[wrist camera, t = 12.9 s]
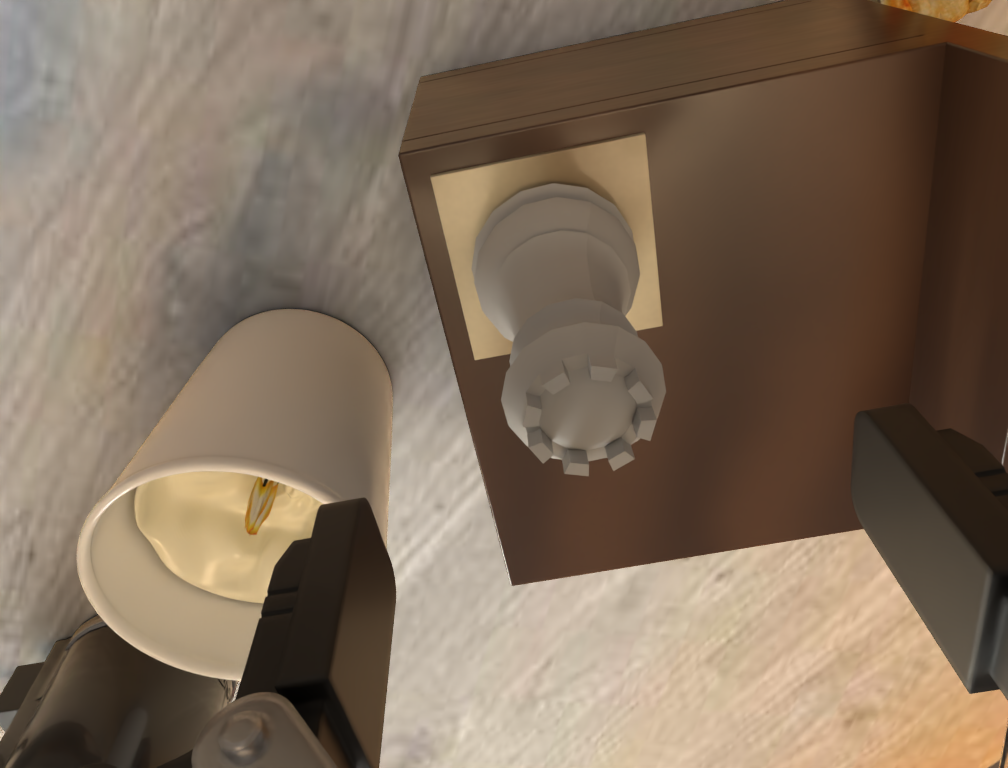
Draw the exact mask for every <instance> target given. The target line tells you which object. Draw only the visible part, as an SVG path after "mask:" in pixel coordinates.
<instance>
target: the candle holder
mask: <svg viewBox="0 0 1008 768" xmlns="http://www.w3.org/2000/svg"><path fill="white" fill-rule="evenodd" d="M392 420H393V393H392V385H391V380H390V376H389V373H388V370H387V368H386V366H385V364H384V362H383V360H382V358H381V356H380V355H379V353H378V352H377V351H376V349H375V348H374V347H373V346H372V344H371V343H370V342H369V341H368V340H367V339H366V338H365V337H363V336H362V335H361V334H360V333H359V332H357V331H356V330H355V329H353V328H352V327H350V326H349V325H347V324H345V323H343V322H341V321H339V320H337V319H335V318H333V317H330V316H328V315H325V314H321V313H318V312H314V311H308V310H301V309H279V310H272V311H267V312H263V313H259V314H256V315H254V316H251V317H249V318H247V319H245V320H243V321H241V322H239V323H238V324H236V325H235V326H233V327H232V328H231V329H230V330H228V331H227V332H226V333H225V334H224V335H223V336H222V337H221V338H220V339H219V341H218V342H217V343H216V344H215V345H214V347H213V348H212V349H211V350H210V352H209V353H208V354H207V356H206V357H205V358H204V360H203V361H202V362H201V364H200V365H199V367H198V368H197V369H196V371H195V372H194V373H193V375H192V376H191V378H190V379H189V380H188V382H187V383H186V384H185V386H184V387H183V389H182V390H181V391H180V393H179V394H178V395H177V397H176V398H175V400H174V401H173V402H172V404H171V405H170V407H169V408H168V409H167V411H166V412H165V414H164V415H163V416H162V418H161V419H160V420H159V422H158V423H157V425H156V426H155V427H154V429H153V430H152V432H151V433H150V434H149V436H148V437H147V438H146V440H145V441H144V443H143V444H142V445H141V447H140V448H139V450H138V451H137V452H136V454H135V455H134V457H133V458H132V459H131V461H130V462H129V463H128V465H127V466H126V468H125V469H124V470H123V472H122V473H121V475H120V476H119V477H118V479H117V480H116V481H115V483H114V484H113V486H112V487H111V488H110V490H109V491H108V492H107V493H106V494H105V495H104V496H103V497H102V498H101V499H100V500H99V501H98V502H97V504H96V505H95V506H94V507H93V509H92V510H91V512H90V513H89V515H88V517H87V519H86V520H85V522H84V525H83V527H82V530H81V532H80V536H79V540H78V545H77V569H78V574H79V578H80V582H81V585H82V587H83V590H84V592H85V594H86V596H87V598H88V600H89V602H90V603H91V605H92V606H93V608H94V609H95V611H96V612H97V614H98V615H99V616H100V617H101V618H102V620H103V621H104V622H105V623H106V624H107V625H108V626H109V627H110V628H111V629H112V630H113V631H114V632H115V633H117V634H118V635H119V636H120V637H121V638H123V639H124V640H125V641H127V642H128V643H129V644H131V645H132V646H134V647H135V648H137V649H138V650H140V651H142V652H143V653H145V654H147V655H149V656H151V657H153V658H155V659H157V660H159V661H161V662H163V663H166V664H168V665H170V666H173V667H176V668H179V669H181V670H185V671H188V672H191V673H195V674H199V675H203V676H208V677H213V678H219V679H226V680H237V681H241V679H242V676H243V672H244V669H245V665H246V662H247V659H248V655H249V652H250V648H251V645H252V641H253V638H254V635H255V631H256V628H257V624H258V621H259V618H261V610H262V607H263V604H264V600H265V597H267V596H268V593H267V590H268V586H269V583H270V580H271V576H272V573H273V569H274V566H275V564H276V563H277V562H278V560H279V559H280V558H281V556H282V555H283V554H284V552H285V551H286V550H287V549H288V547H289V546H290V545H291V543H292V542H293V541H295V540H301V539H307V538H311V535H312V531H313V527H314V523H315V519H316V515H317V511H318V508H319V507H320V506H321V505H323V504H329V503H334V502H340V501H346V500H351V499H357V498H363V497H364V498H366V499H367V500H368V502H369V504H370V506H371V508H372V511H373V514H374V516H375V519H376V522H377V525H378V527H379V530H380V533H381V536H382V538H383V541H384V544H385V547H386V549H387V528H388V507H389V487H390V466H391V445H392Z"/></svg>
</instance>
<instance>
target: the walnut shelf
mask: <svg viewBox="0 0 1008 768" xmlns="http://www.w3.org/2000/svg"><path fill="white" fill-rule="evenodd" d="M398 156H399V160H400V164H401V168H402V172H403V176H404V179H405V183H406V187H407V191H408V195H409V198H410V202H411V206H412V210H413V214H414V218H415V221H416V225H417V229H418V233H419V237H420V240H421V244H422V248H423V252H424V256H425V260H426V263H427V267H428V271H429V275H430V279H431V283H432V286H433V290H434V294H435V298H436V302H437V305H438V309H439V313H440V317H441V321H442V325H443V328H444V332H445V336H446V340H447V344H448V347H449V351H450V355H451V359H452V363H453V367H454V370H455V374H456V378H457V382H458V386H459V390H460V393H461V397H462V401H463V405H464V409H465V412H466V416H467V420H468V424H469V428H470V432H471V435H472V439H473V443H474V447H475V451H476V455H477V458H478V462H479V466H480V470H481V474H482V477H483V481H484V485H485V489H486V493H487V497H488V500H489V504H490V508H491V512H492V516H493V519H494V523H495V527H496V531H497V535H498V539H499V542H500V546H501V550H502V554H503V558H504V562H505V565H506V569H507V573H508V577H509V581H510V584H511V586H515V585H521V584H527V583H533V582H540V581H546V580H552V579H558V578H564V577H570V576H577V575H583V574H589V573H595V572H601V571H607V570H613V569H620V568H626V567H632V566H638V565H644V564H650V563H657V562H663V561H669V560H675V559H681V558H687V557H693V556H700V555H706V554H712V553H718V552H724V551H730V550H737V549H743V548H749V547H755V546H761V545H767V544H773V543H780V542H786V541H792V540H798V539H804V538H810V537H817V536H823V535H829V534H835V533H841V532H847V531H853V530H860V529H864V528H863V526H862V525H861V523H860V521H859V519H858V517H857V514H856V512H855V509H854V505H853V501H852V496H851V469H852V451H853V434H854V421H855V417H856V414H857V413H858V412H860V411H864V410H870V409H876V408H881V407H887V406H893V405H898V404H904V403H909V404H911V405H913V406H914V407H915V408H916V409H917V410H918V411H919V412H920V414H921V415H922V416H923V417H924V418H925V419H926V420H927V421H928V422H929V424H930V425H931V426H932V427H933V428H934V429H935V430H936V431H937V430H943V429H949V428H952V429H953V430H955V431H957V432H959V433H961V434H963V435H965V436H967V437H968V438H970V439H972V440H974V441H976V442H978V443H980V444H982V445H983V446H984V447H985V448H986V449H987V450H988V451H989V452H990V453H991V454H992V455H993V456H994V457H995V458H996V459H997V460H998V461H999V462H1000V463H1001V464H1002V465H1003V466H1004V467H1005V471H1006V473H1008V36H1005V35H1001V34H997V33H993V32H989V31H986V30H982V29H978V28H974V27H970V26H966V25H962V24H958V23H954V22H951V21H947V20H943V19H939V18H935V17H931V16H927V15H923V14H919V13H916V12H912V11H908V10H904V9H900V8H896V7H892V6H888V5H884V4H881V3H877V2H873V1H869V0H785V1H781V2H776V3H771V4H766V5H761V6H757V7H752V8H747V9H742V10H738V11H733V12H728V13H723V14H718V15H714V16H709V17H704V18H699V19H695V20H690V21H685V22H680V23H675V24H671V25H666V26H661V27H656V28H652V29H647V30H642V31H637V32H633V33H628V34H623V35H618V36H613V37H609V38H604V39H599V40H594V41H590V42H585V43H580V44H575V45H570V46H566V47H561V48H556V49H551V50H547V51H542V52H537V53H532V54H528V55H523V56H518V57H513V58H508V59H504V60H499V61H494V62H489V63H485V64H480V65H475V66H470V67H465V68H461V69H456V70H451V71H446V72H442V73H437V74H432V75H427V76H423V77H421V78H420V80H419V84H418V87H417V90H416V94H415V97H414V101H413V104H412V108H411V111H410V115H409V118H408V122H407V125H406V129H405V133H404V136H403V140H402V144H401V147H400V151H399V155H398ZM552 183H556V184H563V185H570V186H577V187H584V188H588V189H590V190H591V191H593V192H595V193H596V194H598V195H599V196H601V197H603V198H604V199H606V200H608V201H609V202H611V203H613V204H614V205H615V206H616V207H617V209H618V210H619V212H620V213H621V215H622V216H623V218H624V219H625V221H626V222H627V224H628V225H629V227H630V228H631V230H632V233H633V239H634V243H635V244H636V251H637V257H638V263H639V269H640V277H639V281H638V285H637V289H636V293H635V296H634V300H633V304H632V307H631V309H630V311H629V312H628V313H627V314H626V318H627V319H628V321H629V322H630V323H631V325H632V326H633V327H634V329H635V330H636V332H637V335H638V338H640V339H642V340H644V341H645V342H646V343H647V345H648V346H649V347H650V349H651V350H652V351H653V353H654V354H655V356H656V357H657V358H658V360H659V361H660V362H661V364H662V368H663V374H664V381H665V387H666V393H665V397H664V400H663V403H662V406H661V409H660V413H659V416H658V418H657V421H656V424H655V427H654V431H653V434H652V437H651V440H650V441H648V440H645V439H641V438H640V439H639V440H638V441H637V442H635V443H633V444H632V445H631V447H632V450H633V454H634V457H635V459H634V460H632V461H630V462H629V463H627V464H625V465H623V466H622V467H620V468H618V469H616V470H615V471H613V469H612V467H611V465H610V463H609V461H608V458H603V459H598V460H593V461H589V476H581V475H571V474H564V469H563V463H562V460H561V459H553V458H549V459H548V460H547V461H546V462H545V463H544V464H543V463H542V462H541V461H540V460H539V459H538V458H537V456H536V455H535V454H534V453H533V452H532V451H531V450H530V449H529V447H528V446H526V445H525V444H524V442H523V441H522V440H521V439H520V438H519V437H518V436H517V435H516V434H515V432H514V431H513V430H512V429H511V428H510V427H509V426H508V422H507V419H506V416H505V412H504V409H503V405H502V402H501V397H502V392H503V386H504V381H505V376H506V372H507V371H508V369H509V368H510V362H509V360H510V355H511V350H512V344H513V342H512V341H510V340H508V339H506V338H505V337H504V336H503V335H502V334H501V333H500V332H499V331H498V329H497V328H496V327H495V326H494V325H493V323H492V322H491V321H490V320H489V319H488V317H487V316H486V315H485V314H484V312H483V311H482V308H481V305H480V301H479V298H478V294H477V291H476V287H475V284H474V276H473V273H472V269H471V268H472V261H473V255H474V248H475V241H476V237H477V236H478V234H479V233H480V231H481V229H482V228H483V226H484V225H485V223H486V221H487V220H488V218H489V217H490V215H491V213H492V212H493V211H494V210H495V209H496V208H498V207H499V206H501V205H502V204H503V203H505V202H506V201H508V200H509V199H510V198H512V197H513V196H515V195H516V194H517V193H519V192H520V191H524V190H528V189H532V188H536V187H540V186H544V185H548V184H552Z"/></svg>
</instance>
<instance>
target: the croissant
mask: <svg viewBox="0 0 1008 768" xmlns="http://www.w3.org/2000/svg"><path fill="white" fill-rule="evenodd" d="M869 1H873V2H877V3H881V4H884V5H888V6H892V7H896V8H900V9H904V10H908V11H912V12H916V13H919V14H923V15H927V16H931V17H935V18H939V19H943V20H947V21H951V22H956V21H958V20H960V19H961V18H962V17H963V16H964V15H965V14H968V13H972V12H975V11H978V10H980V9H982V8H985V7H987V6H988V5H989V3H990V2H991V1H992V0H869Z"/></svg>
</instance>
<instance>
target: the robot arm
mask: <svg viewBox="0 0 1008 768" xmlns="http://www.w3.org/2000/svg"><path fill="white" fill-rule="evenodd" d="M851 496H852V501H853V505H854V509H855V512H856V514H857V517H858V519H859V521H860V523H861V525H862V526H863V528H864V530H865V531H866V533H867V534H868V536H869V537H870V539H871V541H872V542H873V544H874V545H875V547H876V548H877V550H878V551H879V553H880V555H881V556H882V558H883V559H884V561H885V562H886V564H887V566H888V567H889V569H890V570H891V572H892V573H893V575H894V576H895V578H896V580H897V581H898V583H899V584H900V586H901V587H902V589H903V591H904V592H905V594H906V595H907V597H908V598H909V600H910V601H911V603H912V605H913V606H914V608H915V609H916V611H917V612H918V614H919V616H920V617H921V619H922V620H923V622H924V623H925V625H926V626H927V628H928V630H929V631H930V633H931V634H932V636H933V637H934V639H935V641H936V642H937V644H938V645H939V647H940V648H941V650H942V651H943V653H944V655H945V656H946V658H947V659H948V661H949V662H950V664H951V666H952V667H953V669H954V670H955V672H956V673H957V675H958V676H959V678H960V680H961V681H962V683H963V684H964V686H965V687H966V689H967V691H968V692H969V694H972V693H978V692H985V691H991V690H998V689H1000V690H1001V691H1002V693H1003V694H1004V696H1005V697H1006V699H1007V700H1008V473H1006V471H1005V467H1004V466H1003V465H1002V464H1001V463H1000V462H999V461H998V460H997V459H996V458H995V457H994V456H993V455H992V454H991V453H990V452H989V451H988V450H987V449H986V448H985V447H984V446H983V445H982V444H980V443H978V442H976V441H974V440H972V439H970V438H968V437H967V436H965V435H963V434H961V433H959V432H957V431H955V430H953V429H952V428H949V429H943V430H937V431H936V430H935V429H934V428H933V427H932V426H931V425H930V424H929V422H928V421H927V420H926V419H925V418H924V417H923V416H922V415H921V414H920V412H919V411H918V410H917V409H916V408H915V407H914V406H913V405H911V404H909V403H904V404H898V405H893V406H887V407H881V408H876V409H870V410H864V411H860V412H858V413H857V414H856V417H855V421H854V434H853V451H852V469H851ZM267 593H268V596H267V597H265V600H264V604H263V607H262V610H261V618H259V621H258V624H257V628H256V631H255V635H254V638H253V641H252V645H251V648H250V652H249V655H248V659H247V662H246V665H245V669H244V672H243V676H242V679H241V683H240V686H239V690H238V693H237V696H236V699H235V701H233V702H231V701H232V699H233V696H234V693H235V690H236V686H237V683H238V681H237V680H226V679H219V678H213V677H208V676H203V675H199V674H195V673H191V672H188V671H185V670H181V669H179V668H176V667H173V666H170V665H168V664H166V663H163V662H161V661H159V660H157V659H155V658H153V657H151V656H149V655H147V654H145V653H143V652H142V651H140V650H138V649H137V648H135V647H134V646H132V645H131V644H129V643H128V642H127V641H125V640H124V639H123V638H121V637H120V636H119V635H118V634H117V633H115V632H114V631H113V630H112V629H111V628H110V627H109V626H108V625H107V624H106V623H105V622H104V621H103V620H102V618H101V617H100V616H99V615H98V616H95V617H94V618H92V619H90V620H88V621H87V622H85V623H84V624H83V625H81V626H80V627H79V628H78V629H77V630H76V632H75V633H74V635H73V636H72V638H69V639H65V640H59V641H56V643H55V644H54V646H53V648H52V650H51V652H50V653H49V655H48V657H47V659H46V661H45V662H41V663H35V664H29V665H23V666H18V667H17V668H16V670H15V671H14V673H13V675H12V676H11V678H10V680H9V681H8V683H7V685H6V687H5V688H4V690H3V692H2V693H1V695H0V726H1V727H2V729H3V730H4V731H5V734H4V736H3V738H2V739H1V741H0V768H379V763H380V753H381V743H382V733H383V723H384V713H385V703H386V693H387V684H388V674H389V664H390V654H391V644H392V634H393V624H394V615H395V605H396V585H395V577H394V571H393V567H392V563H391V560H390V558H389V555H388V552H387V549H386V547H385V544H384V541H383V538H382V536H381V533H380V530H379V527H378V525H377V522H376V519H375V516H374V514H373V511H372V508H371V506H370V504H369V502H368V500H367V499H366V498H364V497H363V498H357V499H351V500H346V501H340V502H334V503H329V504H323V505H321V506H320V507H319V508H318V511H317V515H316V519H315V523H314V527H313V531H312V535H311V538H307V539H301V540H295V541H293V542H292V543H291V545H290V546H289V547H288V549H287V550H286V551H285V552H284V554H283V555H282V556H281V558H280V559H279V560H278V562H277V563H276V564H275V566H274V569H273V573H272V576H271V580H270V583H269V586H268V590H267ZM999 768H1008V720H1007V726H1006V731H1005V737H1004V742H1003V747H1002V753H1001V758H1000V764H999Z"/></svg>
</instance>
